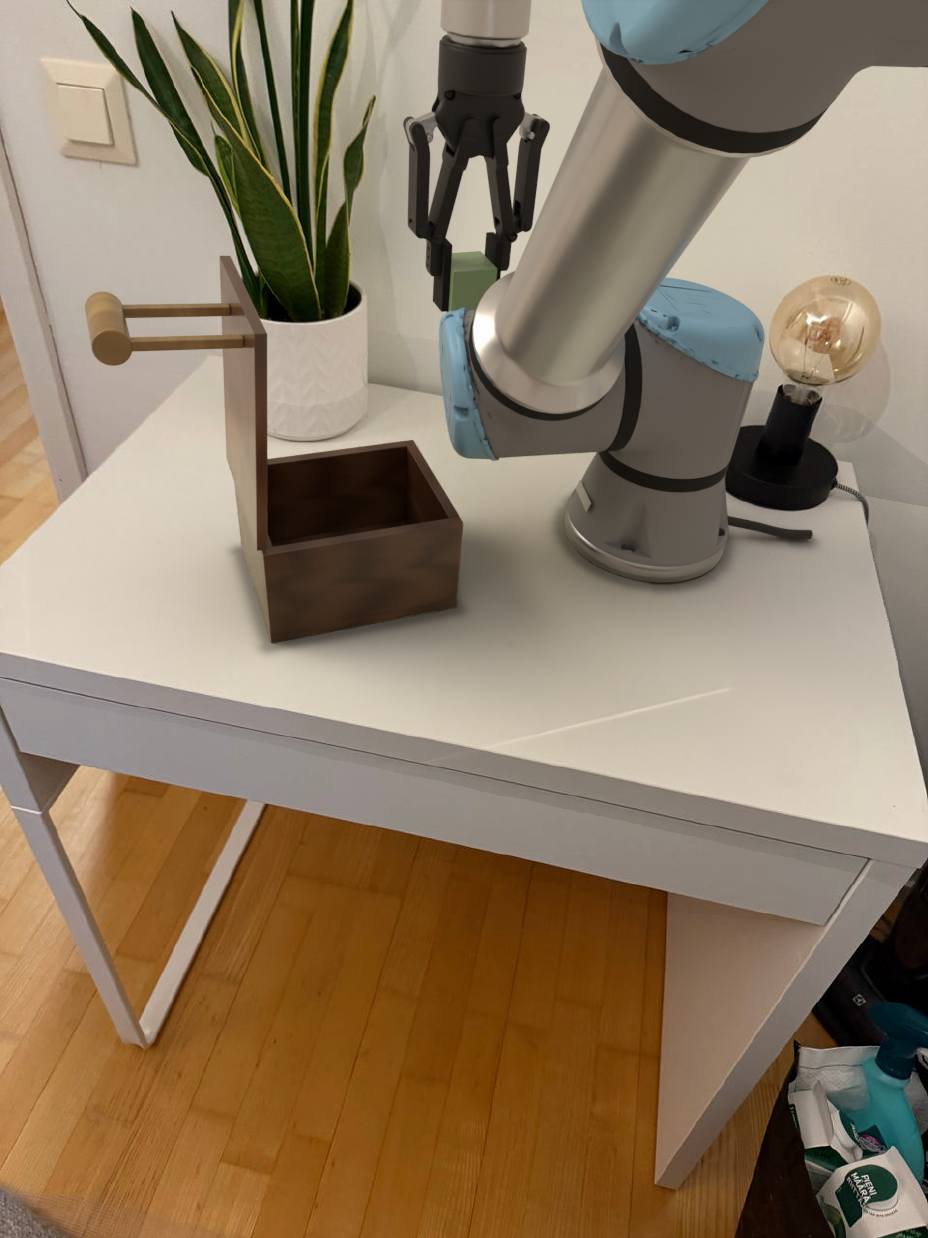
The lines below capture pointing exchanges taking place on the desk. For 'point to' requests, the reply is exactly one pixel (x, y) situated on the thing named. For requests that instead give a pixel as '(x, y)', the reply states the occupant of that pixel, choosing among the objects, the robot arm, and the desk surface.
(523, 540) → the desk surface
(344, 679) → the desk surface
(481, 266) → the block
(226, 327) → the lid
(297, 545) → the chest
